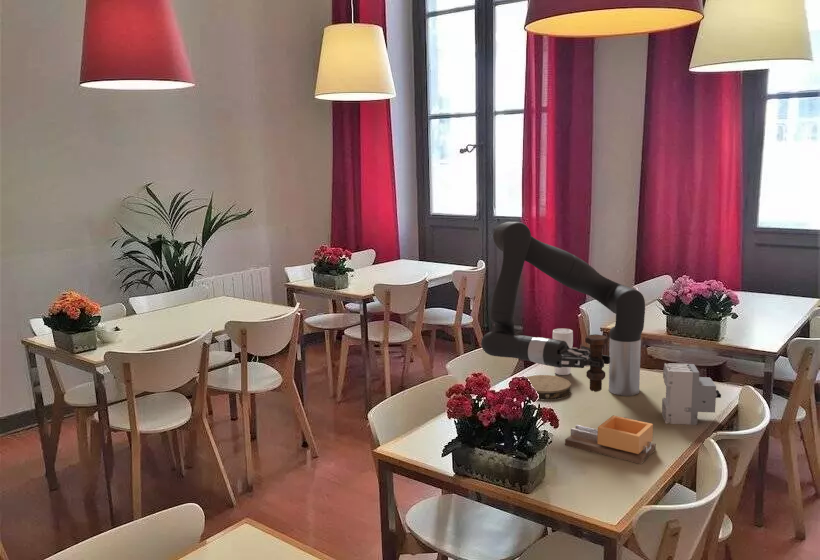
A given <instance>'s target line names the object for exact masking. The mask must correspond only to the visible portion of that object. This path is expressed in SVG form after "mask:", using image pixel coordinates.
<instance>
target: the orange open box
mask: <svg viewBox="0 0 820 560" xmlns="http://www.w3.org/2000/svg"><path fill="white" fill-rule="evenodd" d="M597 429H598V443H597V444H599V445H603V446H608V447H612V448H616V449H620V450H624V451H628V452H632V453H636V454H639V453H640V452H641V451H642V450H643V446H644V445H646V446H647V442H648V441H650V442H651V443H652V442H653V438H654V437H653V435H654V423H650V422H646V421H640V420H636V419H632V418H627V417H622V416H619V415H612V416H610V417H609V418H608V419H606V420H605V421H604V422H602V423H601V424H600V425H598V426H597Z"/></svg>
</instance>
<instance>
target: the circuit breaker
mask: <svg viewBox="0 0 820 560" xmlns="http://www.w3.org/2000/svg"><path fill="white" fill-rule="evenodd" d="M663 365H664V366H663V371H662V372H663V374H662V378H663V382H664V385H665V397H662V398H661V399H662V400H661V415H662V418H663V421H664V422H665V424H670V425H671V424H672V425H692V426H693V425H694V426H697V425H698V416H699V413H716V402H717V399H721V398H722V394H721V393H720V391H719V390H718V389H717V385H716V384H715V382H714V381H713V379H712V378H711V377H707V376H700V371H699V370H698V368H697V366H696V365H695V364H694V363H673V362H672V363H670V362H669V363H664V364H663Z"/></svg>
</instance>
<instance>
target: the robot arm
mask: <svg viewBox="0 0 820 560" xmlns="http://www.w3.org/2000/svg"><path fill="white" fill-rule="evenodd" d="M492 234H493V235H492V237H493V241H494V242H493V243H494V244H495V246H496V247H497V248H498V249H499V250H500V251H501V252H503V253H502V265H501V269H500V273H499V276H498V278H497V281H496V284H495V286H494V289H493V292H492V296H491V297H492V298H491V304H490V311H489V319H490V321H491V322H492V323H494V331H489V332H487V333H485V334H484V335H483V337H482V338H481V342H480V344H481V345H480V346H481V349H482V350H483V351H484V353H486V354H488V355H489V356H492V357H500V358H510V359H511V358H513V359H518V360H521V361H527V362H532V363H535V364H538V365H543V366H549V367H554V368H555V367H559V368H561V367H571V368H573V369H574V368H575V369H576V368H578V369H584V368H585V367H586V368H587V367H589V368H590V366H593V367H599V368H602V369H603V368H604V367H605V365H608V391H609V392H610V393H611V394H614V395H617V396H626V397H629V396H635V395H638V394H640V384H641V383H640V376H641V374H640V373H641V343H642V342H641V341H642V340H641V339H642V338H641V337H642V333H643V331H644V328H645V317H646V316H645V315H646V301H645V300H646V299H645V297H644V294H642V292H640V291H639V290H637V289H635V288H632V287H630V286H627V285H625V284H621V283H618V282H616V281H615V280H614V281H613V280H611V279H609V278H607V277H605V276H604V275H602V274H601V273H599V272H598V271H597V269H595V268H594V267H593V266H591V265H590V264H589V263H587V262H586V261H584V259H582V258H579V257H578V256H576V255H575V254H573V253H571V252H569V251H566V250H564V249H562V248H559V247H557V246H554V245H552V244H551V245H550V244H548V243H545V242H542V241H541V240H538V239H537V238H535V237H533V236H532V233H531V231H530V228H529V226H527V225H526V224H525V223H523V222H521V221H506V222H502V223H499V225H497V226H496V227H495V229H494V230H493V233H492ZM525 262H527V263H528V264H530V265H532V266H533V267H535V268H537V270H539V271H541V272H542V273H544V274H545V275H547V276H549V277H550V278H552V279H553V280H554V281H556V282H558V283H560V284H561V285H562V286H566V287H568V288H569V289H572V290H574V291H575V292H579V293H581V294H585V295H586V296H588V297H590V298H592V299H594V300H596V301H597V302H599V303H600V304H601V305H603V306H604V307H606V308H607V309H608V310H609V311H610V312H612V313H613V314H615V324H614V326H613V327H611V328H610V330H609V349H608V350H609V354H608V355H607V354H602V359H598V358H592V357H591V358H590V347H587V346H584V345H583V346H580V348H578V347H572V348H569V347H568V344H567V343H566V342H565V341H561V340H555V339H553V338H547V337H543V336H541V337H539V336H537V337H536V336H529V335H522V334H521V335H515V323H514V316H515V310H516V305H517V304H516V303H517V295H518V291H519V285H520V282H521V281H520V279H521V276H522V272H523V268H524V264H525Z"/></svg>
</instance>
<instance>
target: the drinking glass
mask: <svg viewBox="0 0 820 560" xmlns="http://www.w3.org/2000/svg"><path fill="white" fill-rule="evenodd" d="M552 339H555V340H561V341H565V342H566V343H567V344H568V347H569V348H573V344H574V331H573V329H570V328H554V329H552ZM571 368H572V367H561V368H559V367H554V373H555V374H556V375H559V376H569V375H570V374H571V372H572V371H571Z"/></svg>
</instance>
